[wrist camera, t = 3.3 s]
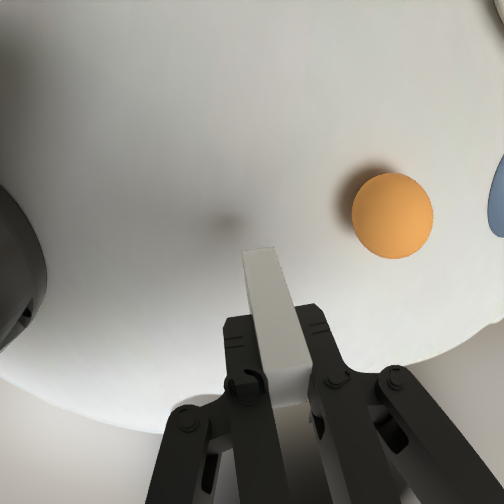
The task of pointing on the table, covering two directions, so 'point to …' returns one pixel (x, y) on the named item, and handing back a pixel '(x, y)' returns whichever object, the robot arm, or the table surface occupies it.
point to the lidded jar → (500, 8)
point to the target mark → (497, 202)
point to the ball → (392, 215)
